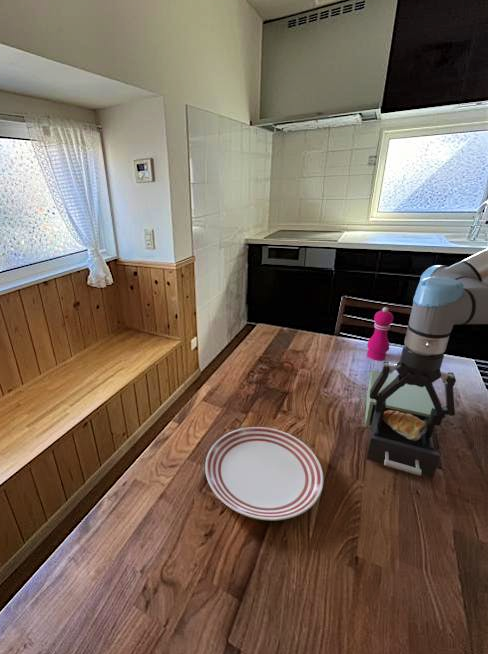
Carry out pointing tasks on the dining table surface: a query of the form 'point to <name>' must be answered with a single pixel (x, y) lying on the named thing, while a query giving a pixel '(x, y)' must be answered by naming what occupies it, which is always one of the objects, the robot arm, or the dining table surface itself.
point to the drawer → (402, 448)
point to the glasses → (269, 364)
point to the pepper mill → (380, 335)
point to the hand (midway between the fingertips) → (403, 427)
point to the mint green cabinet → (400, 398)
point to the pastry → (405, 424)
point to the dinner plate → (264, 473)
